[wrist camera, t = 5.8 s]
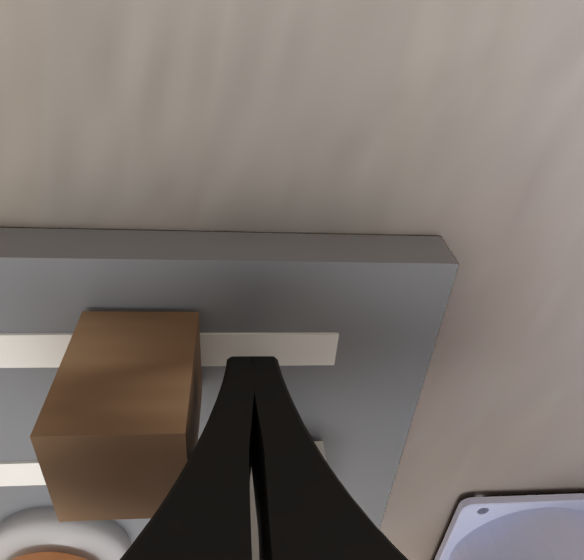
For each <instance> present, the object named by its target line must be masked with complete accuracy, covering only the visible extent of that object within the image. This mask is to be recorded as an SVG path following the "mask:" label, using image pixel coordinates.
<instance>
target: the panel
mask: <svg viewBox="0 0 584 560" xmlns="http://www.w3.org/2000/svg"><path fill="white" fill-rule="evenodd" d="M458 266H459V263H458V261H457V260H456V258H455V257H454V255H453V254H452V252H451V251H450V249H449V248H448V246H447V245H446V243H445V242H444V240H443V239H442V237H441V236H403V235H353V234H302V233H252V232H201V231H151V230H100V229H50V228H0V560H12V559H14V558H16V557H19V556H22V555H26V554H30V553H37V552H60V553H67V554H72V555H76V556H79V557H82V558H85V559H87V560H120V558H121V557H122V556H123V555H124V554H125V552H126V551H127V550H128V549H129V547H130V546H131V545H132V543H133V542H134V541H135V539H136V538H137V537H138V535H139V534H140V533H141V531H142V530H143V529H144V527H145V526H146V525H147V523H148V522H149V521H150V519H151V518H147V519H122V520H96V521H71V522H59V521H58V518H57V515H56V512H55V509H54V506H53V503H52V500H51V498H50V495H49V492H48V489H47V486H46V483H45V480H44V477H43V474H42V471H41V468H40V465H39V462H38V460H37V457H36V454H35V451H34V448H33V445H32V442H31V439H30V435H31V433H32V430H33V428H34V426H35V423H36V421H37V418H38V416H39V414H40V411H41V409H42V406H43V404H44V402H45V399H46V397H47V394H48V392H49V390H50V387H51V385H52V383H53V380H54V378H55V375H56V373H57V371H58V368H59V366H60V363H61V361H62V359H63V356H64V354H65V352H66V349H67V347H68V344H69V342H70V340H71V337H72V335H73V332H74V330H75V328H76V325H77V323H78V320H79V318H80V316H81V313H82V311H136V312H199V327H200V350H201V372H202V400H201V412H200V423H199V435H198V440H199V438H200V436H201V434H202V432H203V430H204V428H205V426H206V424H207V421H208V419H209V417H210V414H211V412H212V409H213V407H214V404H215V402H216V399H217V397H218V394H219V391H220V388H221V385H222V381H223V378H224V374H225V369H226V363H227V359H229V358H230V357H231V356H274V357H275V358H276V359H278V363H279V367H280V370H281V373H282V376H283V379H284V381H285V384H286V386H287V389H288V391H289V394H290V396H291V398H292V400H293V403H294V405H295V407H296V409H297V411H298V413H299V415H300V417H301V419H302V421H303V423H304V425H305V426H306V428H307V430H308V432H309V434H310V435H311V437H312V439H313V441H323V444H324V450H325V456H326V462H327V463H328V465H329V466H330V468H331V469H332V471H333V472H334V473H335V475H336V476H337V478H338V479H339V481H340V482H341V483H342V485H343V486H344V487H345V489H346V490H347V491H348V493H349V494H350V495H351V497H352V498H353V499H354V500H355V501H356V503H357V504H358V505H359V506H360V507H361V509H362V510H363V511H364V512H365V513H366V515H367V516H368V517H369V518H370V520H371V521H372V522H373V523H374V524H375V526H376V527H377V528H378V529H380V525H381V522H382V519H383V515H384V512H385V509H386V505H387V502H388V499H389V495H390V492H391V489H392V485H393V482H394V479H395V475H396V472H397V469H398V465H399V462H400V459H401V455H402V452H403V449H404V445H405V442H406V439H407V436H408V432H409V429H410V426H411V422H412V419H413V416H414V412H415V409H416V406H417V402H418V399H419V396H420V392H421V389H422V386H423V382H424V379H425V376H426V372H427V369H428V366H429V362H430V359H431V356H432V352H433V349H434V346H435V342H436V339H437V336H438V332H439V329H440V326H441V322H442V319H443V316H444V312H445V309H446V306H447V302H448V299H449V296H450V292H451V289H452V286H453V282H454V279H455V276H456V273H457V269H458Z"/></svg>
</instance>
